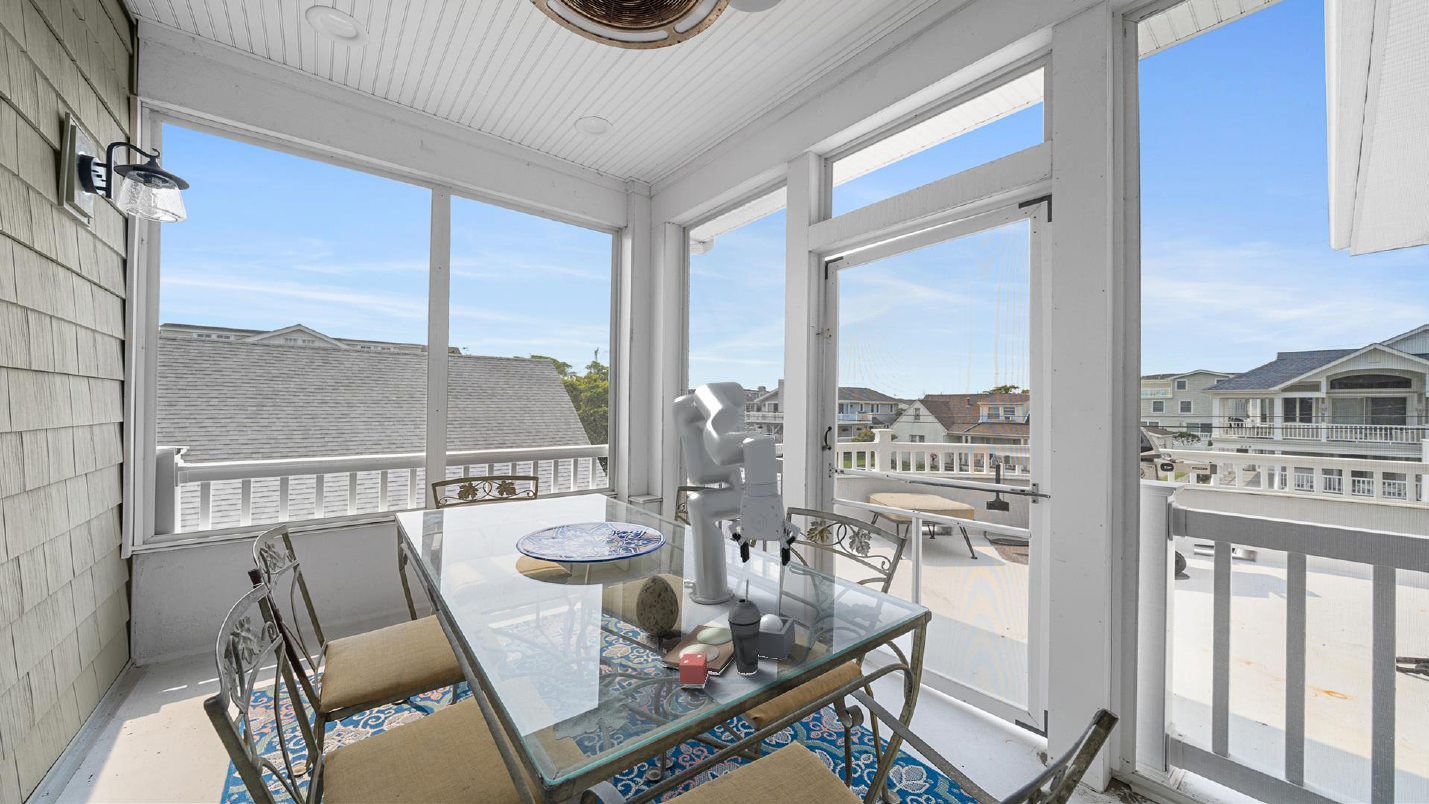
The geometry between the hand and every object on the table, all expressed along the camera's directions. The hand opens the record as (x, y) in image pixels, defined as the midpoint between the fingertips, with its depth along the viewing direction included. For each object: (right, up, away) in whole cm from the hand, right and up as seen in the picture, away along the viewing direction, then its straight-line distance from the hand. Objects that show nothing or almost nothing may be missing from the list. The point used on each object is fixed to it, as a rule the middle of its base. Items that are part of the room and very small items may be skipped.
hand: (765, 562), depth 135 cm
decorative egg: (-26, -22, +13) cm, 36 cm away
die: (-16, -22, -12) cm, 30 cm away
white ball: (+1, -19, +1) cm, 19 cm away
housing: (+2, -21, +1) cm, 21 cm away
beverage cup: (-5, -21, -8) cm, 24 cm away
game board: (-13, -21, +2) cm, 25 cm away
